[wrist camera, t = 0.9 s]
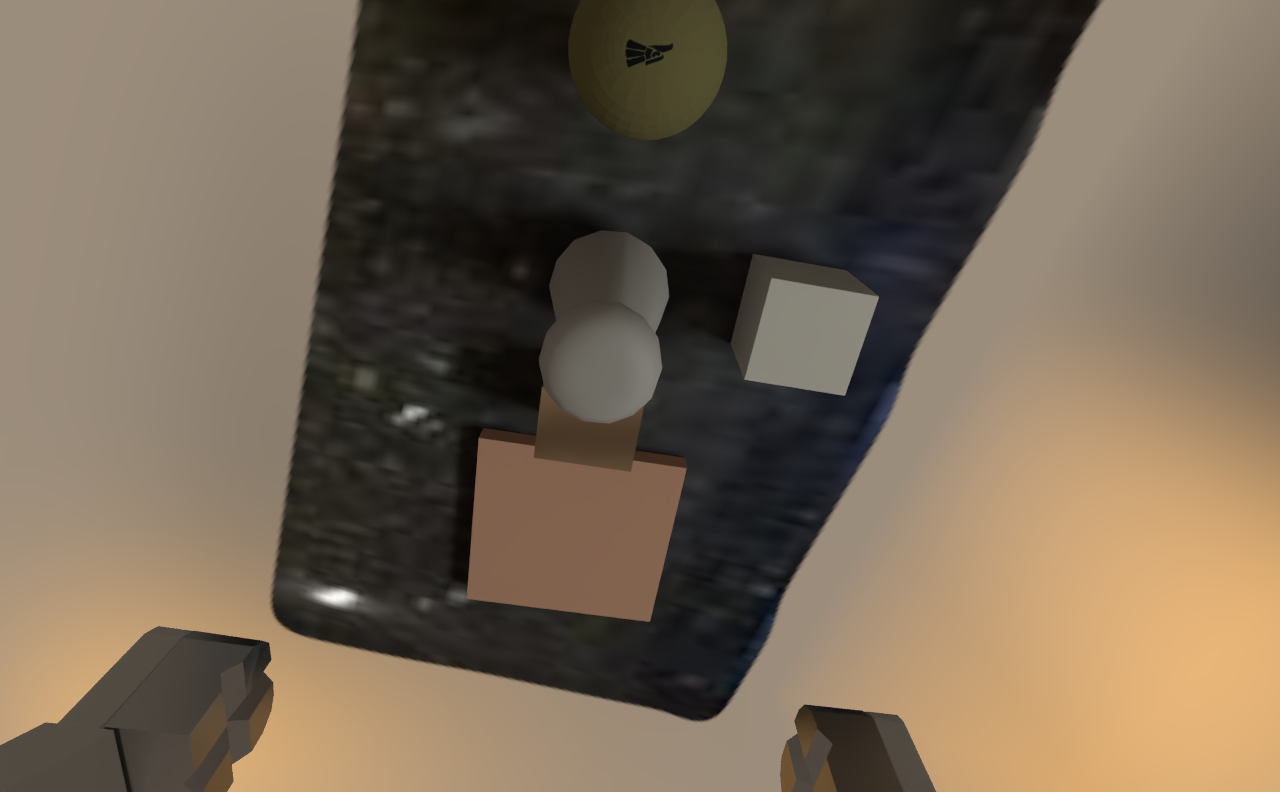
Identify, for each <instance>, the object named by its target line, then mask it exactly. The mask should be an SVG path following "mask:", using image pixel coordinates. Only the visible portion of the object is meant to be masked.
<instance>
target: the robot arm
mask: <svg viewBox="0 0 1280 792" xmlns="http://www.w3.org/2000/svg"><path fill="white" fill-rule="evenodd" d="M270 661H271V654H270V646H269V643H268V642H264V641H260V640H253V639H245V638H240V637H233V636H226V635H219V634H212V633H205V632H199V631H188V630H181V629H174V628H167V627H160V626H158V627H156V628H154V629H152V630H150V631H149V632H147V633H145V634H144V635H143V636H142V637H141V638H140V639H139V640H138V641H137V642H136V643H135V644H134V645H133V646H132V647H131V648H130V649H129V650H128V651H127V653H126V654H124V656H122V658H121V659H120V660H119V661H118V662H117V663H116V664H115V665H114V666H113V667H112V668H111V669H110V670H109V671H108V672H107V673H106V674H105V675H104V676H103V677H102V678H101V679H100V680H99V681H98V682H97V683H96V684H95V685H94V687H93V688H92V689H91V690H90V691H89V692H88V693H87V694H86V695H85V696H84V697H83V698H82V699H81V700H80V701H79V702H78V703H77V704H76V705H75V706H74V707H73V708H72V709H71V710H70V711H69V712H68V713H67V714H66V715H65V716H64V718H63V719H62V720H61V721H60V722H59V723H58V724H54V723H44V724H42V725H40V726H38V727H36V728H34V729H32V730H30V731H28V732H26V733H24V734H22V735H20V736H18V737H16V738H14V739H12V740H10V741H8V742H6V743H4V744H2V745H0V792H227V791H228V789H229V788H230V786H231V785H232V783H233V772H232V764H233V763H235V762H236V761H238V760H239V759H241V758H242V757H244V756H245V755H247V754H248V753H250V752H251V751H252V750H253V748H254V747H255V745H256V743H257V741H258V740H259V738H260V736H261V735H262V733H263V731H264V728H265V726H266V723H267V720H268V718H269V715H270V712H271V708H272V702H273V696H274V692H273V682H272V681H271V679H270V678H269V677H268V676H267V675H266V674H265V673H264V672H263V671H264V670H265V668H266V667H267V665H268V664H269V662H270ZM795 725H796V729H797V732H798V734H796V735H795V736H793V737H792V738H790V739H789V740H787V742H786V745H785V748H784V751H783V754H782V760H781V773H780V776H781V788H782V792H936V790H935V788H934V786H933V784H932V782H931V780H930V778H929V775H928V773H927V771H926V769H925V767H924V765H923V763H922V760H921V758H920V756H919V754H918V752H917V750H916V748H915V745H914V743H913V741H912V739H911V737H910V735H909V733H908V730H907V728H906V726H905V724H904V722H903V721H902V720H901V719H900V718H899V716H898V715H892V714H883V713H874V712H863V711H860V710H850V709H840V708H832V707H822V706H813V705H804V706H803V707H802V708H801V709H799V711H798V714H797V716H796V719H795Z"/></svg>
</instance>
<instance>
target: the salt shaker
mask: <svg viewBox="0 0 1280 792" xmlns="http://www.w3.org/2000/svg"><path fill="white" fill-rule="evenodd" d="M549 288H550V293H551V298H552V303H553V308H554V313H555V318H556V322H555V323H554V324H553V325H552V326H551V327H550V328H549V330H548V331H547V333H546V336H545V339H544V343H543V346H542V350H541V353H540V356H539V365H540V370H541V374H542V378H543V383H544V387H545V390H546V392H547V393H548V394H549V395H550V397H551V398H552V399H553V401H554V402H555V403H556V404H557V406H558V407H559V408H560V410H562V411H564V412H566V413H568V414H570V415H572V416H574V417H576V418H578V419H580V420H582V421H586V422H597V423H612V422H615V421H618V420H621V419H624V418H627V417H629V416H632V415H634V414H635V413H636V412H637V411H638V410H639V409H640V408H642V407H643V406H644V405H645V404H646V403H647V402H648V401H649V400H650V399H651V398H652V395H653V393H654V390H655V387H656V384H657V381H658V379H659V376H660V373H661V370H662V363H661V355H660V346H659V340H658V337H657V335H656V334H655V332H656V330H657V328H658V326H659V323H660V321H661V318H662V315H663V313H664V310H665V307H666V304H667V301H668V298H669V290H668V281H667V272H666V269H665V267H664V266H663V264H662V263H661V261H660V260H659V258H658V257H657V255H656V254H655V252H654V251H653V249H652V248H651V247H650V246H649V245H647V244H645V243H644V242H642V241H641V240H639V239H637V238H636V237H634V236H632V235H631V234H629V233H628V232H615V231H602V230H601V231H598V232H595V233H592V234H590V235H587V236H584V237H581V238H579V239H576V240H574V241H573V242H572V243H571V244H570V245H569V247H568V248H567V249H566V250H565V251H564V252H563V254H562V255H561V256H560V257H559V258H558V259H557V261H556V264H555V267H554V271H553V274H552V278H551V281H550V284H549Z"/></svg>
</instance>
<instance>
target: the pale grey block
mask: <svg viewBox="0 0 1280 792" xmlns="http://www.w3.org/2000/svg"><path fill="white" fill-rule="evenodd" d="M878 298H879V296H878V295H876V294H875V293H874V292H872V291H871V290H870V289H869V288H867V287H866V286H865V285H864V284H862V283H861V282H860V281H859V280H857V279H856V278H855V277H854V276H852V275H851V274H850V273H849V272H847V271H846V270H842V269H836V268H830V267H825V266H819V265H813V264H807V263H802V262H796V261H790V260H785V259H779V258H773V257H768V256H762V255H756V254H753V256H752V260H751V264H750V268H749V272H748V276H747V280H746V284H745V288H744V292H743V296H742V300H741V304H740V308H739V312H738V316H737V320H736V324H735V328H734V332H733V336H732V340H731V346H732V349H733V351H734V354H735V357H736V359H737V362H738V364H739V367H740V369H741V372H742V374H743V377H744V379H745V380H750V381H757V382H763V383H769V384H775V385H782V386H788V387H794V388H800V389H807V390H813V391H819V392H826V393H832V394H838V395H844V396H845V394H846V391H847V388H848V385H849V382H850V379H851V376H852V373H853V370H854V368H855V365H856V362H857V359H858V356H859V353H860V350H861V347H862V344H863V342H864V339H865V336H866V333H867V330H868V327H869V324H870V321H871V318H872V316H873V313H874V310H875V307H876V304H877V301H878Z"/></svg>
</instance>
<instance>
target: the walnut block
mask: <svg viewBox="0 0 1280 792" xmlns="http://www.w3.org/2000/svg"><path fill="white" fill-rule="evenodd" d="M643 409H644V406H643V407H642V408H640V409H639V410H638V411H637V412H636V413H635V414H634V415H632V416H629V417H627V418H624V419H621V420H618V421H615V422H612V423H597V422H586V421H582V420H580V419H578V418H576V417H574V416H572V415H570V414H568V413H566V412H564V411H562V410H560V408H559V407H558V406H557V404H556V403H555V402H554V401H553V399H552V398H551V397H550V395H549V394H548V393H547V392H546V390H545V387H544V383H543V385H542V391H541V400H540V408H539V417H538V425H537V434H536V442H535V450H534V458H538V459H545V460H552V461H559V462H566V463H573V464H580V465H586V466H593V467H600V468H607V469H614V470H621V471H628V472H631V470H632V465H633V459H634V454H635V449H636V444H637V439H638V434H639V429H640V424H641V419H642V414H643Z"/></svg>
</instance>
